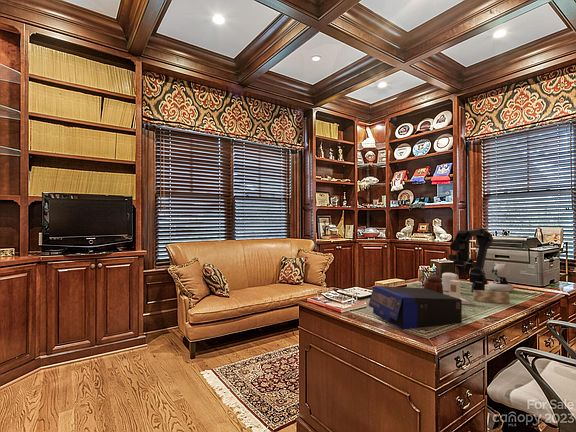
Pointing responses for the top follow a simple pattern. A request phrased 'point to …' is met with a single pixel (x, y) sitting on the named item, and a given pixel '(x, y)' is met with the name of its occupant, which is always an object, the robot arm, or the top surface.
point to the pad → (464, 301)
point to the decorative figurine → (501, 279)
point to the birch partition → (492, 296)
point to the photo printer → (448, 280)
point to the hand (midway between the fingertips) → (463, 275)
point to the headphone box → (415, 307)
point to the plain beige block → (455, 289)
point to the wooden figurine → (434, 283)
